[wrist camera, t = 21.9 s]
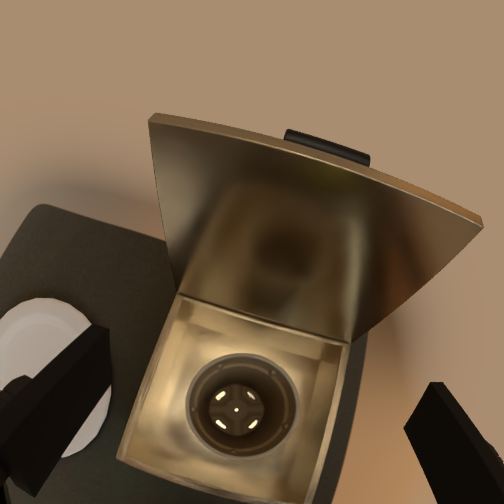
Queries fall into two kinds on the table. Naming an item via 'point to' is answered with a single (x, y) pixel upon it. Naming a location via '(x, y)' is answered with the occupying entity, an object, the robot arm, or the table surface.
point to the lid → (296, 226)
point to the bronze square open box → (192, 450)
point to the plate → (45, 351)
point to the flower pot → (242, 406)
